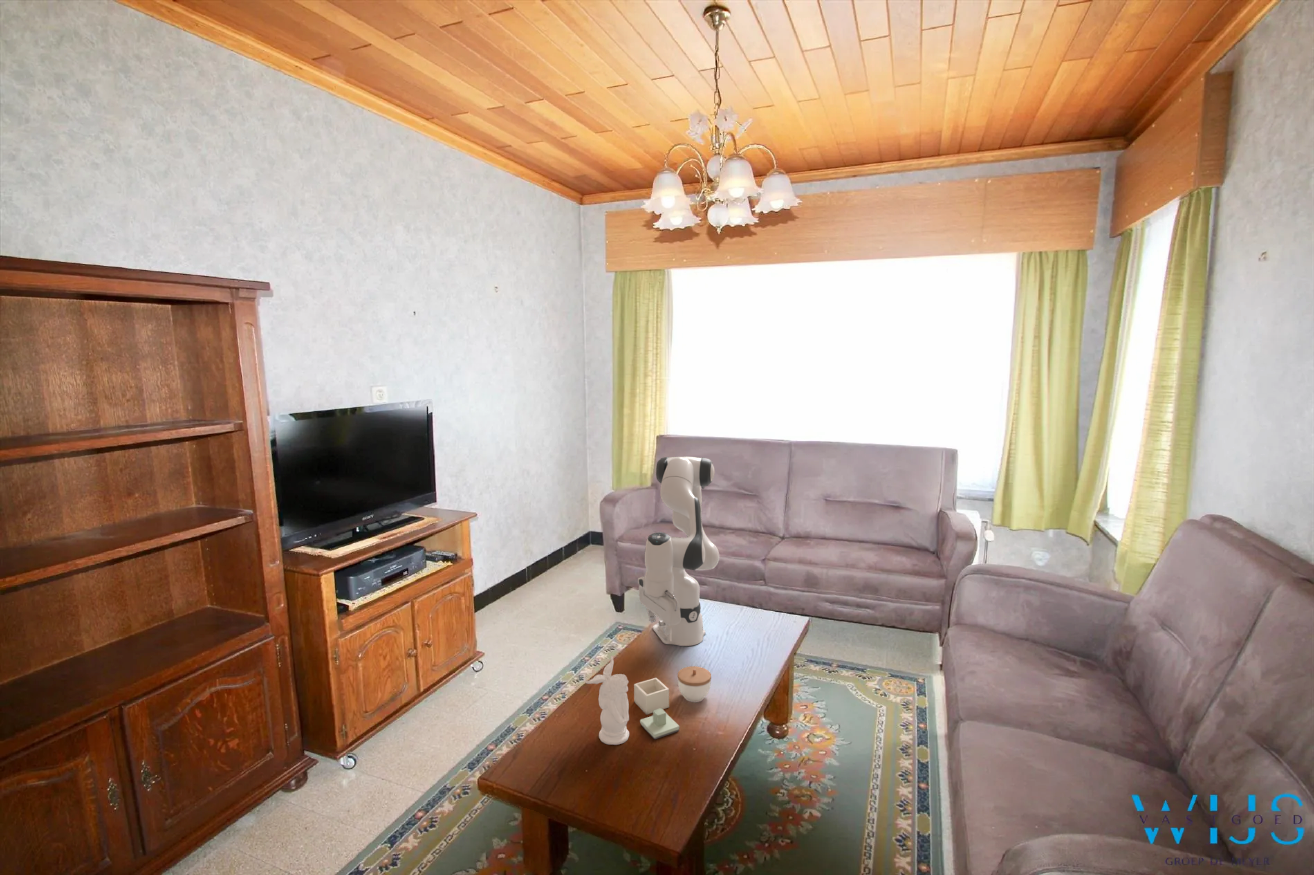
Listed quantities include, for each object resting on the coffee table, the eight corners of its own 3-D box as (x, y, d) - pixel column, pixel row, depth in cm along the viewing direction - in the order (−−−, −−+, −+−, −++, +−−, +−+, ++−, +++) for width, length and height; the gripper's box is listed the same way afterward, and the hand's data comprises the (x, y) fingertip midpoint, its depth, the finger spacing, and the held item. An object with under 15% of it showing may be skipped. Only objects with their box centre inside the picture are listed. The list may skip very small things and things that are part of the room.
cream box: (634, 701, 193) (634, 684, 192) (656, 695, 197) (656, 677, 196) (646, 714, 186) (646, 696, 185) (669, 707, 190) (669, 689, 189)
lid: (640, 723, 181) (640, 708, 180) (664, 714, 185) (664, 700, 184) (654, 738, 174) (654, 723, 173) (679, 729, 178) (679, 714, 177)
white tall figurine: (631, 747, 171) (631, 673, 168) (586, 751, 169) (585, 677, 166) (626, 721, 183) (626, 652, 179) (584, 725, 181) (583, 655, 178)
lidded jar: (708, 708, 190) (709, 679, 189) (674, 704, 192) (674, 676, 191) (712, 690, 200) (713, 663, 199) (680, 686, 202) (680, 659, 201)
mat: (641, 725, 181) (641, 723, 181) (664, 717, 185) (664, 715, 185) (654, 739, 174) (654, 737, 174) (678, 731, 178) (678, 729, 178)
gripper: (685, 595, 183) (685, 638, 185) (652, 573, 200) (652, 612, 202) (667, 599, 180) (667, 643, 182) (635, 576, 197) (635, 617, 199)
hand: (659, 627), depth 192 cm, fingers open, 8 cm apart
